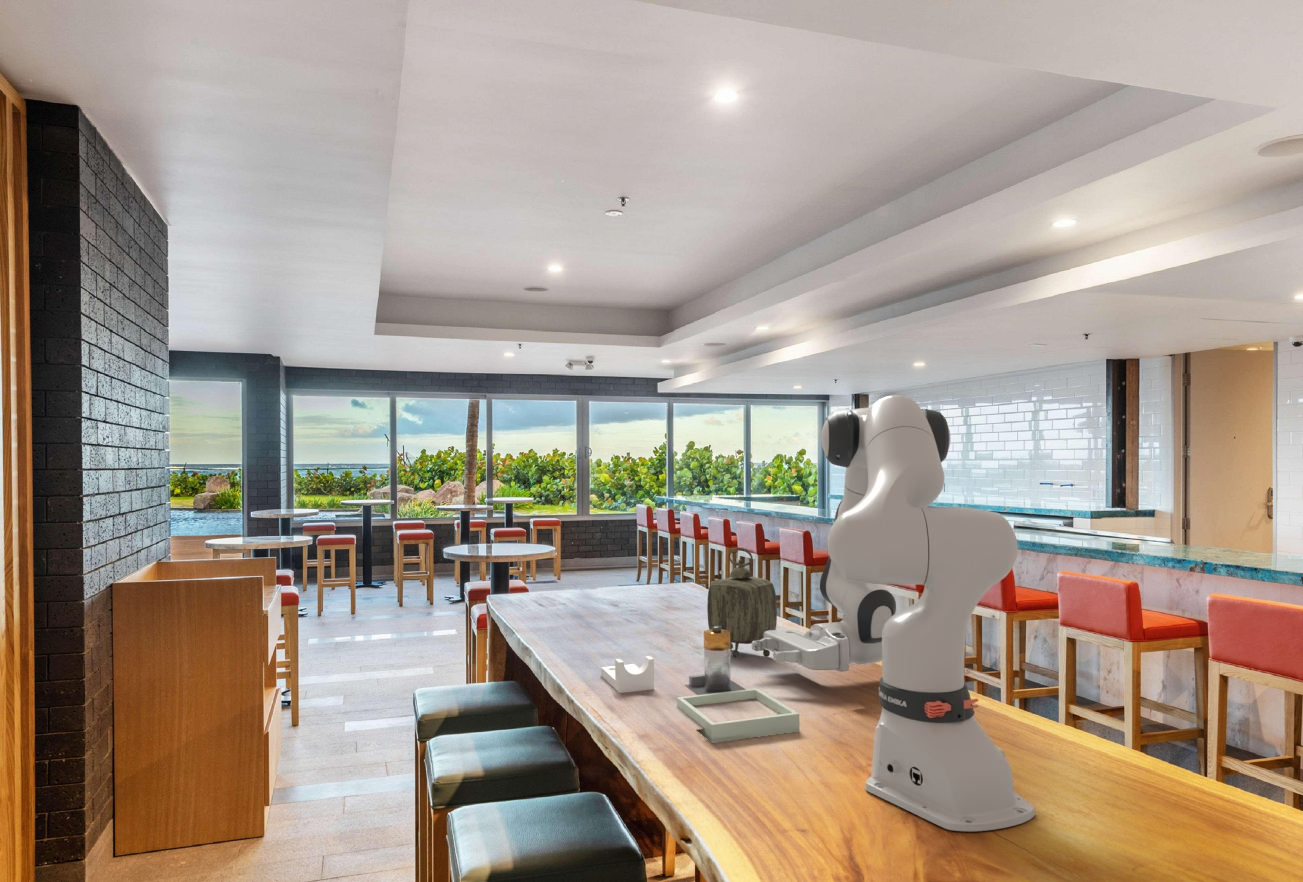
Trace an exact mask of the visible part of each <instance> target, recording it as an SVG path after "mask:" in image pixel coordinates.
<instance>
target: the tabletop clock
mask: <svg viewBox="0 0 1303 882" xmlns="http://www.w3.org/2000/svg"><path fill="white" fill-rule="evenodd" d="M736 551H737V552H738V551H739V552H745V553H747V554H748V555H749V557H750V560H749V561H748V562H745V563H743V562H744V561H743V559H738V561H737V562H736V561H734V560H733V559H732V558H731V556H732V554H733V552H736ZM753 559H754V558H753V554H752V553H751V552H750V550H749V549H747V548H744V547H735V548H732V549H731V550H730V551H729V552H728V560H729V562H730V563H731V564H733V565H735V566H736V567H733V569H732V570H731V572H730V575H729V577H727V578H721V579H716V580H713V581H712V582H711V584H710V585H709V588H708V592H707V606H706V607H707V608H706V609H707V623H708V624H707V625H708V630H711V629H712V627H713V626H721V627H722V630H728V631H730V650H732V649H733V648H734V650H733V651H732V656H733V658H738V657H739V656H740V651H739V650H738V649H739V645H740V644H741V645H742V644H743V645H752V642H753V641H758V640H761V639H763V638H764V632H765V631H768V630H777V621H778V620H777V619H778V618H777V617H778V604H777V594H776V589H775V587H774V584H773V582H772V581H770V580H768V579H765V578H760V577H755V576H752V573H751V571H750V570H749V568H747V566H750V565H751V564H752V563H753ZM734 645H735V646H734ZM770 654H771V650H768V649H763V652H762V655H763V656H764V657H767V658H768V657H770Z"/></svg>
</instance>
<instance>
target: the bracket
mask: <svg viewBox="0 0 1303 882" xmlns="http://www.w3.org/2000/svg"><path fill="white" fill-rule="evenodd" d="M600 677H602V678H603V679H604V680H605V681H606V683H608V684H609V685H610V686H611V687H613V688H614V690H615V691H617V692H618V693H619V694H623V693H630V692H641V691H648V690H655V659H654V658H653V657H652V656H651V655H649V656H648V655H646V656H644V662H643V663H642V665H641V666H640V667H639V666H638V665H636V664H635V663H630V664H625V661H623V660H622V659H620V658H615V659H614V665H611V666H610V665H609V666H601V667H600Z"/></svg>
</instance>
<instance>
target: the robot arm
mask: <svg viewBox="0 0 1303 882" xmlns="http://www.w3.org/2000/svg"><path fill="white" fill-rule="evenodd" d="M950 431H951V430H950V427H949V425H948V421H947V418H946V417H945V416H944V415H943V414H942V413H941V412H940V411H936V410H933V409H930V408H929V409H927V408H921V407H920V405H919V404H918V403H917V401H914V400H913V399H911V398H910V397H907V396H904V395H899V394H892V395H891V394H890V395H888V396H885V397H884V396H883V397H882V398H880V399H878V400H876V401H875V402H874V403H873V404H872V405H871V406H869V407H861V408H853V409H850V408H848V407H847V408H841V409H838V410H833V411H831V413H829V414H828V416H826V418H825V422H824V423H823V425H822V430H821V434H820V444H821V446H822V450H823V452H824V454H825V458H826V459H827V461H829V463H830V464H831V465H833V466H838V467H842V468H845V472H844V473H845V475H844V485H843V486H844V488H843V496H842V500H841V501H839V503H838V505H837V508H836V512H835V516H834V519H833V520H834V521H833V524H832V525H831V527H830V529H829V532H828V536H827V537H828V538H827V550H828V558H827V562H826V564H825V566H824V568H823V571H822V574H821V577H820V581H819V590H820V594H821V596H822V597H823V599H824V600H825V601H826V602H827V603H829V604H831V606H834V607H835V608H836V609H837V610H839V612H840V613H841V614H842V620H840V621H836V622H835V621H834V622H824V623H815V624H813V625H811V626H810V628H809V630H807V631H806V632H803V631H800V630H797V629H776V630H768V631H765V632H764V638H763V639H761V640H758V641H753V642H752V643H751V649H752V650H753V651H755V652H762V651H763V649H765V650H766V649H767V650H769V651H770V652H772V659H773V661H775V662H777V663H793V664H794V663H795V664H798V665H800V666H802V667H804V668H806V669H808V670H811V671H838V672H848V671H850V665H851V664H855V665H869V664H876V663H880V662H882V663H881V667H882V668H881V669H882V670H881V671H882V677H880V679H879V686H878V697H879V698H878V699H879V705H880V707H881V713H880V717H879V720H878V722H877V725H875V729H874V737H873V747H872V749H873V751H872V763H871V776H870V777H868V779H866V781H865V788H864V789H865V790H866V791H867V792H869V793H870V794H872V795H875V796H877V797H879V798H881V799H882V800H885V801H887V802H889V803H891V804H893V805H896V806H898V807H900V808H902V809H903V810H906V811H908V812H911V813H912V814H914V815H917V816H918V817H920V818H922V819H924V820H926V821H928V822H931V823H932V824H935V825H937V826H939V827H941V828H943V829H945V830H948V831H955V832H983V831H993V830H999V829H1006V828H1009V827H1013V826H1017V825H1021V824H1024V823H1027V822H1028V821H1030V820H1032V819H1033V818H1034V816H1035V815H1036V809H1035V806H1034V805H1033V804H1032V803H1030V802H1029V801H1027V800H1026V799H1025V798H1024V797H1022V796H1021V795H1019V793H1017V792H1016V791H1015V787H1014V785H1015V784H1014V776H1013V772H1012V767H1011V764H1010V762H1009V761H1008V759H1007V758H1006V753H1005V751H1004V750H1003V749H1002V748H1001V747H997V746H996V744H995V743H994V742H993V740H992V739H991V738H990V737H989V735H988V733H986V731H985V730H984V728H983V727H982V726H981V724H980V723H979V722H978V721H977V720H976V717H975V716H974V715H975V710H974V709H976V708H979V707H980V706H979V704H978V705H977V704H976V705H973V704H975V703H977V702H979V699H978V698H974V699H973V698H971V693H970V691H969V689H968V686H967V684H966V682H965V650H966V637H967V636H966V635H967V629H968V628H969V627H968V626H969V622H970V620H971V617H972V614H973V612H974V611H975V609H976V607H977V605H978V604H979V602H980V601H981V600H982V598H983V597H984V596H985V595H986V593H987V592H989V590H991V589H992V587H994V586H995V585H996V584H998V583H1000V581H1002V580H1004V579H1005V578H1006V577H1007V576H1008V574H1010V572H1011V571H1012V569H1014V565H1015V563H1016V561H1017V558H1018V551H1019V550H1018V548H1019V547H1018V546H1019V545H1018V540H1017V535H1016V533H1015V531H1014V529H1013V527H1012V525H1011V523H1010V522H1009V521H1008V520H1007V519H1006V517H1004V516H1003V515H1002V514H1001V513H999V512H996V511H991V510H986V509H980V508H973V507H970V506H969V507H967V506H930V505H932V504H933V503H934V502H935V500H936V499H937V498H938V497H939V495H940V494H941V493H942V490H943V488H944V485H945V472H944V469H943V465H942V463H943V462H944V461H945V460H946V459H947V456H948V452H949V450H950V446H951V432H950ZM883 585H922V586H924V589H923V592H922V594H921V596H920V598H919V599H918V600H917V601H916V602H915V603H913V604H911V605H910V606H908V607H905V608H903V609H901V610H899V611H898V612H897V611H896V610H897V603H896V598H895V596H894V595H893V594H892V593H891V592H890V591H889V590H887V589H886V588H885V587H884V586H883Z"/></svg>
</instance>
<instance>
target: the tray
mask: <svg viewBox="0 0 1303 882" xmlns="http://www.w3.org/2000/svg"><path fill="white" fill-rule="evenodd" d="M752 699H756V700H757V701H759V702H761V704H764V705H765V706H766V707H768V708H770V709H771V710H773V711H774V712H776V713H778V714H775V715H774V714H773V715H765V716H757V717H749V718H743V719H734V720H727V721H719V722H714V721H713V720H712V719H710V718H709V717H708V716H706V715H705V714H704V713H702V712H701V711H700V710H699V709H697V708H696V707H694V706H701V705H711V704H720V703H728V702H737V701H745V700H752ZM676 707H677V708H679V709H680V710H681V711H683V713H685V714H686V715H687V716H689V717H690V718H691V719H692V720H693V721H695V722H696V723H697V724H698V725H699V726H701V727H702V728H701V729H696V731H697V733H699V734H700V735H701V734H702V735H701V736H702V737H703V738H705V739H706V738H707V739H708V740H709V741H708V740H707V739H706V740H707V741H708V742H709V743H711V744H718V743H717V742H720V743H726V742H725V741H727V742H732V741H731V740H734V741H739V740H738V739H742V740H746V739H745V738H749V739H753V738H752V737H757V738H760V737H759V736H764V737H769V736H768V735H771V736H776V735H775V734H779V735H784V733H786V734H793V732H794V733H798V732H799V731H801V729H800V726H801V724H800V713H799V712H797V711H796V710H794V709H792V708H790V707H789V706H787V705H785V704H784V703H782V702H781V701H779V700H777V699H776V698H774V697H772V696H770V695H769V694H767V693H765V692H764V691H762V690H761V689H759V688H756V687H755V688H748V689H746V690H739V691H730V692H721V693H712V694H703V695H697V694H695V695H688V696H686V695H685V696H680V697H677V698H676ZM799 733H800V732H799ZM766 735H767V736H766Z"/></svg>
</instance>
